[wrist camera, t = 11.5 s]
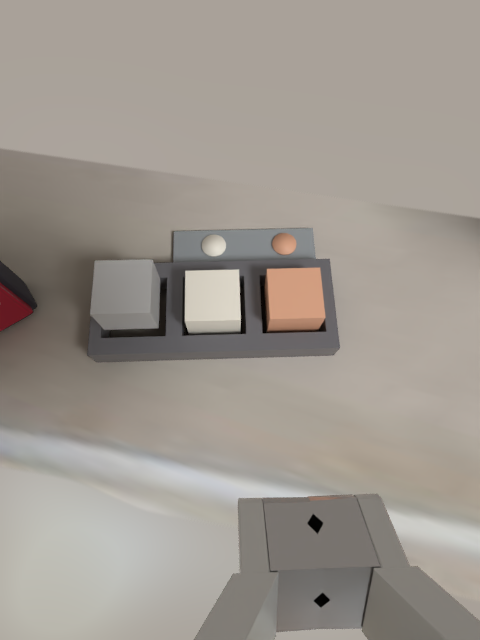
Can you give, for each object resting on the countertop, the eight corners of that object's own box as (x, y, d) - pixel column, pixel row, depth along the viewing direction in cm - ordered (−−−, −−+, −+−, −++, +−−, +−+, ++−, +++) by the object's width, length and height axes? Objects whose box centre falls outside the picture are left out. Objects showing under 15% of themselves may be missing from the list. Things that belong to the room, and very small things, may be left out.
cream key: (238, 287, 40) (239, 269, 36) (240, 333, 38) (240, 320, 35) (189, 288, 40) (185, 270, 36) (189, 335, 38) (184, 321, 34)
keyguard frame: (324, 270, 41) (329, 258, 39) (333, 355, 39) (339, 347, 36) (103, 276, 41) (95, 264, 39) (96, 362, 38) (87, 355, 36)
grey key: (160, 279, 37) (152, 259, 34) (158, 328, 36) (150, 312, 32) (108, 280, 37) (94, 260, 34) (104, 329, 36) (89, 314, 32)
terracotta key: (312, 285, 40) (320, 267, 36) (317, 331, 38) (325, 317, 35) (264, 286, 40) (266, 268, 36) (266, 333, 38) (269, 319, 35)
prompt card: (311, 230, 43) (312, 227, 42) (315, 261, 42) (316, 258, 41) (174, 233, 43) (173, 230, 42) (173, 265, 41) (172, 262, 41)
